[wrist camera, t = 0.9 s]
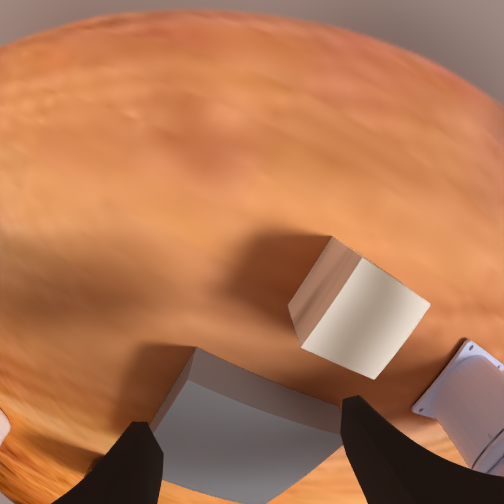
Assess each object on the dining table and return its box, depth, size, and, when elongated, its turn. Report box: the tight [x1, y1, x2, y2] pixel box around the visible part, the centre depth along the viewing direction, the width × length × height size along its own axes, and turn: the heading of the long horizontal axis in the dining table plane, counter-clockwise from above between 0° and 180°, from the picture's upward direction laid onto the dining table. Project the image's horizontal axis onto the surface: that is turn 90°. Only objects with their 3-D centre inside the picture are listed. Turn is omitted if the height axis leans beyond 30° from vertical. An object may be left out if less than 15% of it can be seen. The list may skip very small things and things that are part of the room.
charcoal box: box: [149, 347, 343, 504], centre depth 19 cm, size 12×12×4 cm
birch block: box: [287, 236, 431, 380], centre depth 16 cm, size 5×5×5 cm
